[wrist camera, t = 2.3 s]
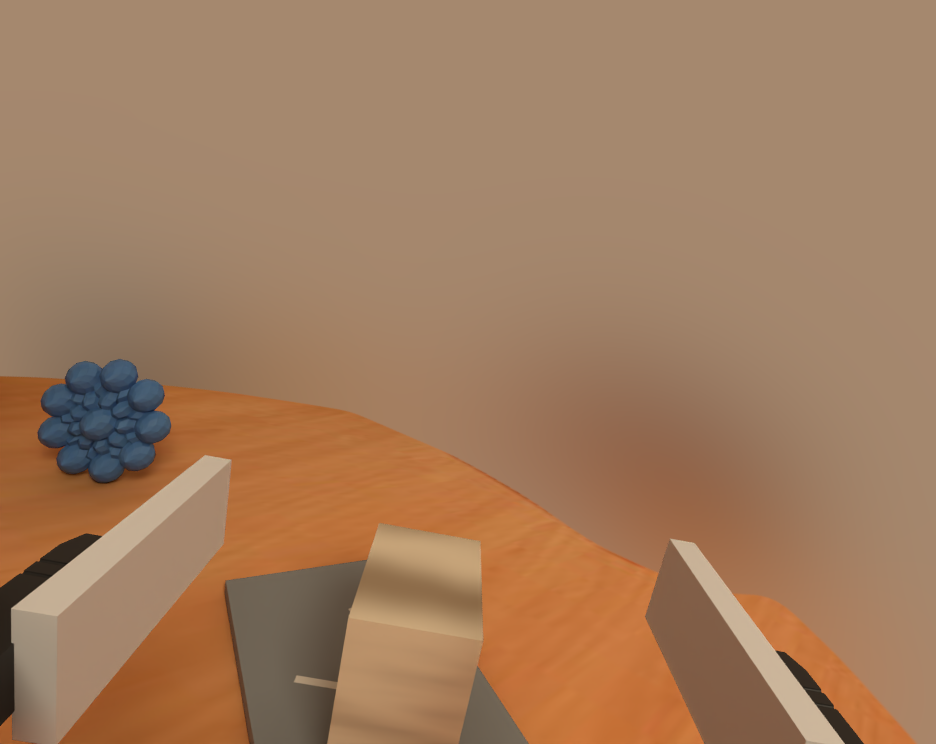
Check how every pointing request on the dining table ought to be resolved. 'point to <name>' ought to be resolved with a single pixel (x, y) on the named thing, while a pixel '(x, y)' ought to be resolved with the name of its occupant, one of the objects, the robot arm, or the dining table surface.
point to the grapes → (103, 420)
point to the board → (316, 657)
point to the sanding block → (410, 641)
